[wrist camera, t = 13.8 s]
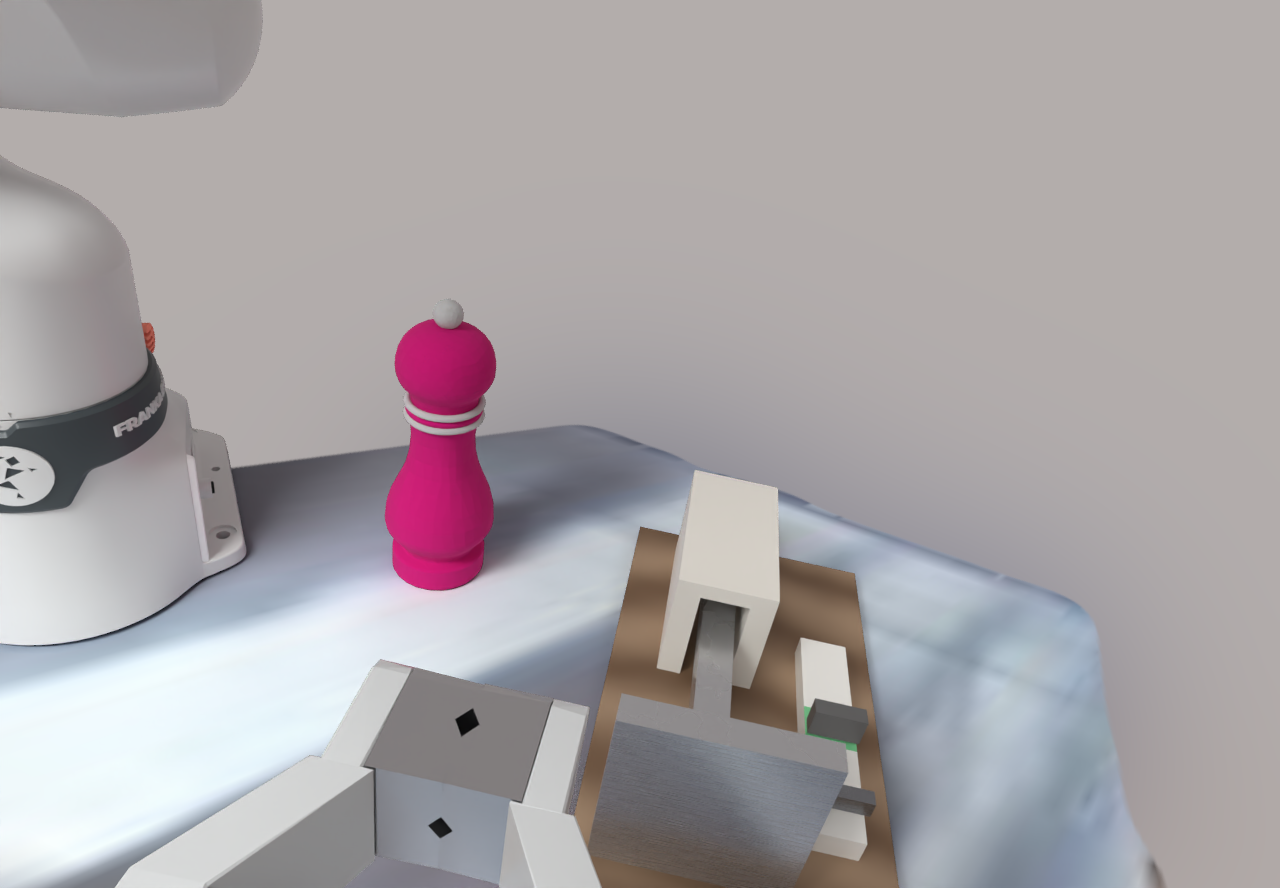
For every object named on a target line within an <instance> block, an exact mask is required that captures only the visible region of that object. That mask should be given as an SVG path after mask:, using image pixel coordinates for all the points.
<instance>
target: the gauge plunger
mask: <svg viewBox="0 0 1280 888" xmlns="http://www.w3.org/2000/svg"><path fill="white" fill-rule="evenodd" d="M735 612H736V605H731V604H727V603H722V602H717V601H713V600H708V599H704V598H701V600H700V609H699V618H698V628H697V637H696V646H695V655H694V665H693V674H692V683H691V693H690V702H689V708H685V707H681V706H676V705H672V704H667V703H663V702H658V701H654V700H650V699H645V698H641V697H636V696H632V695H627V694H623V693H622V694H621V698H620V703H619V707H618V712H617V716H616V721H615V725H614V730H613V734H612V738H611V743H610V747H609V752H608V756H607V761H606V765H605V770H604V774H603V779H602V783H601V788H600V792H599V797H598V801H597V805H596V810H595V814H594V819H593V823H592V828H591V833H590V838H589V842H588V847H587V849H588V851H589V854H590V856H594V857H598V858H603V859H607V860H611V861H616V862H620V863H624V864H629V865H633V866H637V867H642V868H646V869H650V870H654V871H659V872H663V873H667V874H672V875H676V876H680V877H685V878H689V879H693V880H698V881H702V882H706V883H710V884H715V885H719V886H723V887H728V888H794V885H795V883H796V881H797V879H798V877H799V875H800V873H801V871H802V869H803V867H804V865H805V863H806V860H807V858H808V856H809V854H810V852H811V850H812V848H813V846H814V844H815V842H816V840H817V838H818V835H819V833H820V831H821V829H822V827H823V825H824V823H825V821H826V819H827V817H828V815H829V813H830V810H831V808H833V809H837V810H842V811H846V812H851V813H855V814H859V815H864V816H868V817H870V816H871V814H872V813H873V811H874V809H875V807H876V799H875V792H874V791H869V790H865V789H861V788H856V787H852V786H847V785H843V783H844V781H845V779H846V777H847V775H848V763H847V753H846V744H845V743H840V742H836V741H832V740H827V739H823V738H818V737H814V736H809V735H805V734H800V733H796V732H792V731H787V730H783V729H778V728H774V727H769V726H765V725H761V724H756V723H752V722H747V721H743V720H738V719H734V718H730V709H731V690H732V671H733V651H734V632H735Z"/></svg>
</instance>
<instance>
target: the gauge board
mask: <svg viewBox="0 0 1280 888" xmlns="http://www.w3.org/2000/svg"><path fill="white" fill-rule="evenodd" d="M678 538H679V535H676V534H671V533H667V532H662V531H658V530H653V529H648V528H644V527H640V530H639V535H638V539H637V544H636V548H635V552H634V557H633V561H632V565H631V570H630V574H629V578H628V583H627V587H626V592H625V596H624V600H623V605H622V609H621V613H620V618H619V622H618V626H617V631H616V635H615V640H614V644H613V648H612V653H611V657H610V661H609V666H608V670H607V674H606V679H605V683H604V688H603V692H602V696H601V701H600V705H599V709H598V714H597V718H596V722H595V727H594V731H593V736H592V740H591V744H590V749H589V753H588V757H587V762H586V766H585V770H584V775H583V779H582V783H581V788H580V792H579V797H578V801H577V805H576V810H575V814H574V816H576V819H577V822H578V825H579V827H580V830H581V833H582V835H583V838H584V841H585V843H586V846H587V847H588V842H589V838H590V833H591V828H592V823H593V819H594V814H595V810H596V805H597V801H598V797H599V792H600V788H601V783H602V779H603V774H604V770H605V765H606V761H607V756H608V752H609V747H610V743H611V738H612V734H613V730H614V725H615V721H616V716H617V712H618V707H619V703H620V698H621V694H622V693H623V694H627V695H632V696H636V697H641V698H645V699H650V700H654V701H658V702H663V703H667V704H672V705H676V706H681V707H685V708H689V702H690V693H691V683H692V674H693V665H694V655H695V646H696V637H697V628H698V618H699V609H700V602H699V605H698V609H697V613H696V616H695V620H694V623H693V627H692V631H691V634H690V638H689V642H688V645H687V649H686V653H685V656H684V660H683V663H682V667H681V671H680V673H675V672H671V671H667V670H662V669H658V668H657V662H658V656H659V650H660V644H661V637H662V631H663V625H664V619H665V612H666V606H667V600H668V594H669V587H670V581H671V575H672V569H673V562H674V556H675V550H676V546H677V542H678ZM779 583H780V603H779V606H778V609H777V611H776V614H775V617H774V620H773V623H772V626H771V629H770V632H769V635H768V637H767V640H766V643H765V646H764V649H763V652H762V655H761V658H760V661H759V663H758V666H757V669H756V672H755V675H754V678H753V681H752V684H751V687H750V689H747V688H742V687H738V686H733V685H732V690H731V709H730V718H734V719H738V720H743V721H747V722H752V723H756V724H761V725H765V726H769V727H774V728H778V729H783V730H787V731H792V732H796V733H798V728H797V702H796V675H795V651H796V648H797V646H798V643H799V640H800V638H805V639H810V640H814V641H819V642H823V643H828V644H833V645H837V646H842V647H845V649H846V658H847V667H848V676H849V685H850V694H851V702H852V707H857V708H861V709H866V710H867V715H868V723H869V724H868V726H867V728H866V730H865V733H864V735H863V737H862V739H861V741H860V743H859V744H856V746H857V756H858V765H859V774H860V782H861V789H865V790H869V791H874V792H875V799H876V807H875V809H874V811H873V813H872V814H871V816H870V817H868V816H864V818H865V827H866V836H867V846H866V848H865V850H864V852H863V854H862V856H861V858H860V859H859V861H856V860H851V859H847V858H843V857H838V856H834V855H830V854H825V853H821V852H817V851H812V850H811V852H810V854H809V856H808V858H807V860H806V863H805V865H804V867H803V869H802V871H801V873H800V875H799V877H798V879H797V881H796V883H795V885H794V888H899V885H898V878H897V871H896V864H895V857H894V849H893V842H892V835H891V828H890V821H889V814H888V807H887V800H886V793H885V786H884V779H883V772H882V765H881V757H880V750H879V743H878V736H877V729H876V722H875V715H874V708H873V701H872V694H871V687H870V680H869V673H868V665H867V658H866V651H865V644H864V637H863V630H862V623H861V616H860V609H859V602H858V595H857V588H856V581H855V574H854V573H850V572H845V571H841V570H836V569H832V568H827V567H822V566H818V565H813V564H809V563H804V562H799V561H795V560H790V559H786V558H781V557H779ZM700 600H701V598H700ZM590 857H591V860H592V862H593V865H594V868H595V870H596V873H597V876H598V878H599V881H600V884H601V887H602V888H728V887H723V886H719V885H715V884H710V883H706V882H702V881H698V880H693V879H689V878H685V877H680V876H676V875H672V874H667V873H663V872H659V871H654V870H650V869H646V868H642V867H637V866H633V865H629V864H624V863H620V862H616V861H611V860H607V859H603V858H598V857H594V856H590Z"/></svg>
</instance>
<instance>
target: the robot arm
mask: <svg viewBox="0 0 1280 888" xmlns="http://www.w3.org/2000/svg"><path fill="white" fill-rule="evenodd" d="M262 22H263V20H262V3H261V0H0V108H9V109H23V110H35V111H49V112H63V113H76V114H89V115H104V116H117V117H127V116H137V115H148V114H159V113H169V112H178V111H185V110H194V109H202V108H210V107H218V106H222V105H223V104H225V103H226V102H227V101H228V100H229V99H230V98H231V97H232V96H233V95H234V94H235V93H236V92H237V90H238V89H239V88H240V87H241V86H242V84H243V83H244V81H245V80H246V78H247V77H248V75H249V73H250V71H251V69H252V67H253V65H254V62H255V59H256V56H257V53H258V50H259V45H260V40H261V34H262ZM154 335H155V334H154V331H153V327H152V326H151V324H150V323H142V322H141V317H140V311H139V306H138V300H137V294H136V288H135V283H134V277H133V272H132V266H131V260H130V254H129V249H128V247H127V244H126V242H125V240H124V239H123V237H122V235H121V233H120V232H119V230H118V229H117V228H116V226H115V225H114V224H113V223H112V222H111V221H110V220H109V218H108V217H106V215H105V214H103V213H102V212H101V211H100V210H99V209H98V208H97V207H95V206H94V205H93V204H92V203H91V202H89V201H88V200H86V199H85V198H83V197H82V196H81V195H79V194H77V193H75V192H73V191H72V190H70V189H68V188H66V187H64V186H62V185H60V184H57V183H55V182H53V181H51V180H49V179H46V178H44V177H41V176H39V175H36V174H34V173H32V172H29V171H27V170H25V169H23V168H21V167H18V166H17V165H15V164H13V163H11V162H10V161H8V160H7V159H5V158H4V157H2V156H1V155H0V643H3V644H13V645H47V644H57V643H65V642H72V641H77V640H82V639H87V638H91V637H95V636H99V635H102V634H106V633H109V632H112V631H115V630H118V629H120V628H123V627H126V626H128V625H131V624H133V623H135V622H138V621H140V620H142V619H144V618H146V617H148V616H150V615H152V614H154V613H155V612H157V611H159V610H161V609H162V608H164V607H165V606H167V605H168V604H170V603H171V602H173V601H174V600H175V599H177V598H178V597H179V596H181V595H182V594H183V593H184V592H185V591H187V590H188V589H189V588H190V587H192V586H193V585H194V584H196V583H197V582H198V581H200V580H201V579H203V578H205V577H207V576H210V575H212V574H215V573H217V572H219V571H222V570H224V569H226V568H228V567H230V566H232V565H234V564H236V563H238V562H239V561H241V560H242V559H243V558H244V557H245V555H246V545H245V540H244V535H243V529H242V524H241V519H240V514H239V508H238V503H237V498H236V492H235V487H234V482H233V477H232V471H231V466H230V461H229V456H228V451H227V448H226V444H225V440H224V438H223V437H221V436H219V435H217V434H214V433H210V432H207V431H203V430H198V429H193V428H192V427H191V421H190V414H189V408H188V403H187V400H186V398H185V397H183V396H182V395H180V394H179V393H177V392H174V391H173V390H170V389H168V388H165V383H164V378H163V375H162V372H161V369H160V368H159V366H158V365H157V363H156V359H155V358H154V356H153V354H152V353H153V351H154V348H155V336H154ZM589 710H590V707H587V706H582V705H578V704H573V703H569V702H565V701H560V700H556V699H554V698H550V697H545V696H541V695H536V694H531V693H526V692H522V691H517V690H512V689H507V688H503V687H498V686H493V685H489V684H485V685H482V684H478V683H474V682H470V681H466V680H463V679H459V678H455V677H451V676H447V675H443V674H439V673H435V672H431V671H427V670H423V669H419V668H415V667H410V666H406V665H402V664H398V663H394V662H389V661H385V660H381V659H380V660H379V661H378V662H377V663H376V664H375V665H374V666H373V667H372V668H371V670H370V672H369V674H368V675H367V677H366V679H365V681H364V682H363V684H362V686H361V688H360V689H359V691H358V693H357V695H356V696H355V698H354V700H353V702H352V703H351V705H350V707H349V709H348V710H347V712H346V714H345V716H344V717H343V719H342V721H341V723H340V724H339V726H338V728H337V730H336V731H335V733H334V735H333V737H332V738H331V740H330V742H329V744H328V745H327V747H326V749H325V751H324V753H323V754H322V756H321V757H318V756H313V755H309V756H308V757H306V758H304V759H303V760H301V761H300V762H298V763H296V764H295V765H293V766H292V767H290V768H288V769H287V770H285V771H284V772H282V773H280V774H279V775H277V776H276V777H274V778H272V779H271V780H269V781H267V782H266V783H264V784H263V785H261V786H259V787H258V788H256V789H255V790H253V791H251V792H250V793H248V794H247V795H245V796H243V797H242V798H240V799H239V800H237V801H235V802H234V803H232V804H231V805H229V806H227V807H226V808H224V809H222V810H221V811H219V812H218V813H216V814H214V815H213V816H211V817H210V818H208V819H206V820H205V821H203V822H202V823H200V824H198V825H197V826H195V827H194V828H192V829H190V830H189V831H187V832H185V833H184V834H182V835H181V836H179V837H177V838H176V839H174V840H173V841H171V842H169V843H168V844H166V845H165V846H163V847H161V848H160V849H158V850H157V851H155V852H153V853H152V854H150V855H148V856H147V857H145V858H144V859H142V860H140V861H139V862H137V863H136V864H134V865H132V866H131V867H129V869H128V870H127V872H126V873H125V874H124V876H123V877H122V879H121V880H120V881H119V883H118V884H117V886H116V887H115V888H344V887H345V886H346V885H347V884H348V883H349V882H351V881H352V880H353V879H354V878H355V877H356V876H357V875H358V874H360V873H361V872H362V871H363V870H364V869H365V868H366V867H368V866H369V865H370V864H371V863H372V862H373V861H374V860H375V856H379V857H384V858H389V859H393V860H398V861H403V862H408V863H413V864H418V865H423V866H428V867H433V868H438V869H442V870H445V871H449V872H453V873H457V874H460V875H464V876H468V877H472V878H476V879H479V880H483V881H487V882H491V883H495V884H498V885H499V888H602V887H601V884H600V881H599V878H598V876H597V873H596V870H595V868H594V865H593V862H592V860H591V857H590V854H589V851H588V849H587V846H586V843H585V841H584V838H583V835H582V833H581V830H580V827H579V825H578V822H577V819H576V816H573V815H569V809H570V805H571V801H572V796H573V791H574V786H575V781H576V776H577V771H578V766H579V761H580V756H581V751H582V746H583V741H584V736H585V731H586V726H587V721H588V716H589Z"/></svg>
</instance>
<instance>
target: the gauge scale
mask: <svg viewBox="0 0 1280 888" xmlns="http://www.w3.org/2000/svg"><path fill="white" fill-rule="evenodd" d="M795 675H796V702H797V728H798V733H800V734H805V735H809V736H814V737H818V738H823V739H827V740H832V741H836V742H840V743H845V744H846V753H847V763H848V775H847V777H846V779H845V781H844V783H843V785H847V786H852V787H856V788H861V782H860V774H859V765H858V756H857V746H856V744H855V743H850V742H846V741H842V740H837V739H833V738H828V737H824V736H819V735H815V734H810V733H807V717H808V714H809V712H810V709H811V707H812V705H813V702H814V700H815V698H816V699H821V700H825V701H830V702H834V703H839V704H843V705H848V706H852V702H851V694H850V685H849V676H848V667H847V658H846V649H845V647H842V646H837V645H833V644H828V643H823V642H819V641H814V640H810V639H805V638H800V640H799V643H798V646H797V648H796V651H795ZM866 846H867V836H866V827H865V818H864V815H859V814H855V813H851V812H846V811H842V810H837V809H833V808H831V810H830V813H829V815H828V817H827V819H826V821H825V823H824V825H823V827H822V829H821V831H820V833H819V835H818V838H817V840H816V842H815V844H814V846H813V848H812V851H817V852H821V853H825V854H830V855H834V856H838V857H843V858H847V859H851V860H856V861H859V859H860V858H861V856H862V854H863V852H864V850H865V848H866Z"/></svg>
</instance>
